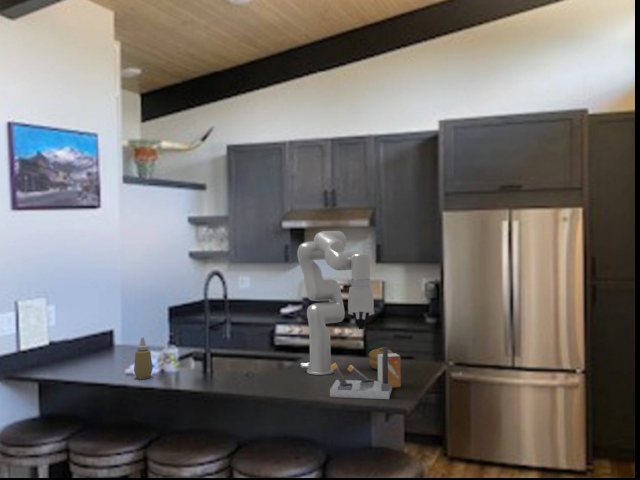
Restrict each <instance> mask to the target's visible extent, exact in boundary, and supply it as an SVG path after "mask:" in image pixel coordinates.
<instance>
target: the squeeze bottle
mask: <svg viewBox="0 0 640 480" xmlns="http://www.w3.org/2000/svg"><path fill="white" fill-rule="evenodd" d="M133 368H134V369H133V371H134V375H135V377H136V379H139V380H146V379H149V378H151V376H152V372H153V361H152V354H151V350H149V345H147V344H146V341H145V338H144V337H141V338H140V342H139V345H138V346H137V350H136V351H135V356H134V367H133Z"/></svg>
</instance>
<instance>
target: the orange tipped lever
mask: <svg viewBox="0 0 640 480" xmlns="http://www.w3.org/2000/svg"><path fill="white" fill-rule="evenodd" d="M331 368H332V370H333V371H334V373H333V374H334V375H335V376H336V378H337V380H339V381H340V383H341V385H342V386H344V385H346V384H347V382H346V380H347V379H345V377H344V375H343V373H342V372H341V370H340V368H339V366H338V364H337V362H334V363H331Z"/></svg>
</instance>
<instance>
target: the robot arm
mask: <svg viewBox="0 0 640 480" xmlns="http://www.w3.org/2000/svg"><path fill="white" fill-rule="evenodd" d="M346 245H347V237H346V235H345V233H344V232H343V231H340V230H323V231H322V230H321V231H319V232H317V233H316V234H315V236H314V237H313V241H306V242H303V243H301V244H300V245H298V248H297V253H296V254H297V261H298V263H299V266H300V268H301V271H302V274H303V278H304V279H303V281H304V285H305V292H306V296H307V298H308V300H310V301H313V302H314V301H316V302H315V303H312V304H310V305H309V306H308V307H307V309H306V316H307V317H306V318H307V321H308V330H309V331H308V332H309V361H308V362H301V363H300V368H303V369H304V368H305V369H306V368H307V369H306V373H307V374H309V375H313V376H324V375H325V376H326V375H331V374H335V373H334V371H333V370H332V368H331V365H332V361H331V359H332V358H331V356H332V355H331V354H332V353H331V351H332V350H331V348H332V347H331V332H330V330H329V328H328V327H327V326H326V324H334V323H340V322H343V321H344V319H345V314H346V312H345V306H344V300H343V296H342V291H341V285H340V284H339V283H338V281H336V280H335V279H331V278H330V279H328V278H327V279H324V278H323V273H322V269H321V268H320V266H319V265H318V264H317V262H315V261H316V260H319V261H320V260H323V261H324V260H325V262H326V264H327V266H329V267H330V268H331V269H333V270H334V271H351V279H350V280H348V281H347V284H348V285H351V286H349V288H348V289H349V290H348V295H347V296H348V298H347V300H348V302H347V310H348V311H347V314H348V315H352V316H353V317H354V318H355V319H356V321H357V325H356V326H357V328H358V330H364V328H366V319H367V318H368V316H373V315H375V310H374V309H375V304H374V302H375V301H374V292H373V286H371V256H370V254H369V253H365V252H360V251H345V247H346ZM318 301H319V302H318ZM320 301H329V302H320ZM361 313H362V316H361Z"/></svg>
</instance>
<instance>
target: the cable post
mask: <svg viewBox="0 0 640 480" xmlns="http://www.w3.org/2000/svg"><path fill="white" fill-rule="evenodd" d="M382 348H383V382H382V384H381V390H389V389H390V382H388V349H389V347H388V346H383V347H382Z"/></svg>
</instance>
